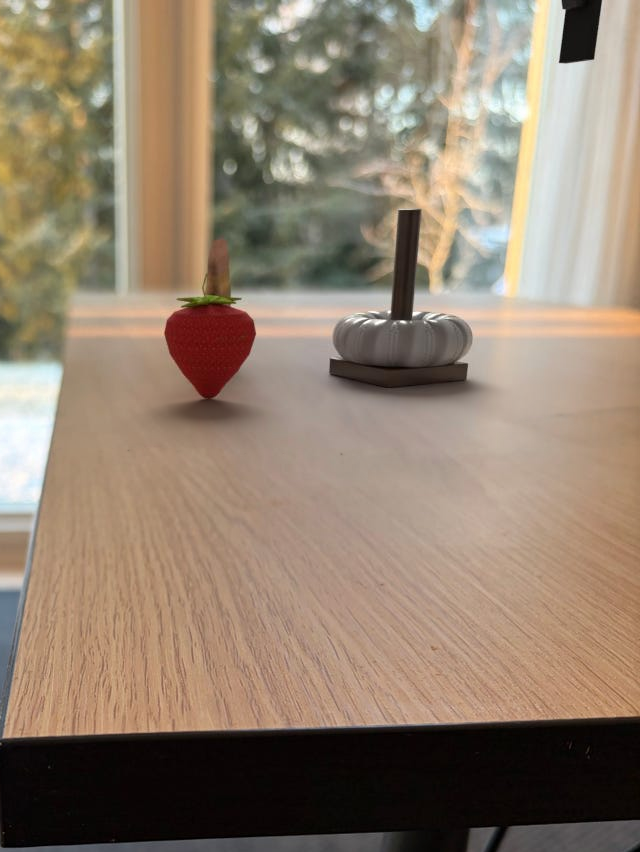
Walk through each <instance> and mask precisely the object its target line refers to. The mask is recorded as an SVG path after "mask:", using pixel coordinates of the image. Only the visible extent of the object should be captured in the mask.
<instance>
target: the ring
mask: <svg viewBox="0 0 640 852" xmlns="http://www.w3.org/2000/svg"><path fill="white" fill-rule="evenodd" d="M390 312H391V310H374V311H360V312H356V313H351V314H347V315H345V316H343V317H342V318H341V319H339V320H338V321H337V323H336V324H335V326H334V328H333V330H332V335H331V338H332V345H333V347H334V349H335V351H336V352H337V354H338V355H339V357H342V358H344V359H345V360H347V361H350V362H355V363H359V364H364V365H370V366H382V367H416V368H419V367H432V366H442V365H447V364H450V363H453V362H455V361H458V362H459V361H460V360H461V359H463V358H464V357H466V356H467V354H468V353H469V351H470V350H471V348H472V345H473V340H474V336H473V331H472V328H471V327H470V325H469V323H468V322H466V321H465V320H464V319H462V318H460V317H458V316H457V315H454V314H449V313H444V312H437V311H436V312H435V311H421V310H413V317H412V320H390Z"/></svg>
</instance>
